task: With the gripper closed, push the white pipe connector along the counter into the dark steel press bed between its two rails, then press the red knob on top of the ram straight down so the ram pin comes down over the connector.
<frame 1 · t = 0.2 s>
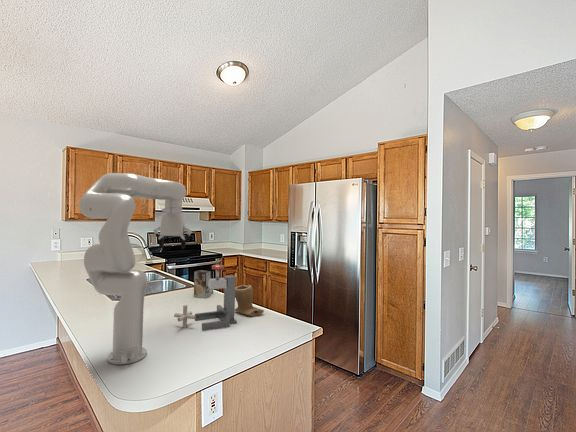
hand: (172, 248, 144), 36 cm above the counter, tool pointing down, fingers open, 9 cm apart
press: (208, 323, 147), on the counter
coffee box: (202, 296, 196), on the counter
pipe connector: (184, 327, 142), on the counter
brown boot vase: (246, 314, 164), on the counter
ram: (217, 279, 149), point 21 cm above the counter, slide at 0.0 cm
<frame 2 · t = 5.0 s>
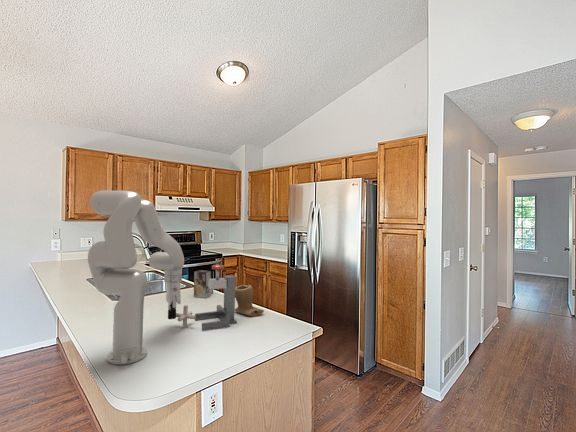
hand: (171, 318, 139), 5 cm above the counter, tool pointing down, fingers closed
pipe connector: (184, 327, 142), on the counter, touching gripper
everything else where it was.
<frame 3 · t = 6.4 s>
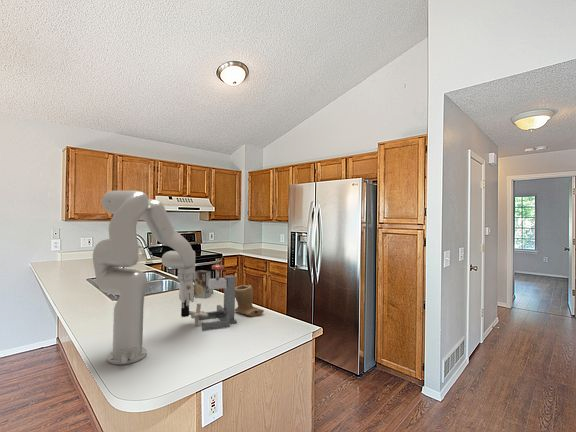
hand: (185, 316, 142), 5 cm above the counter, tool pointing down, fingers closed
pipe connector: (196, 325, 145), on the counter, touching gripper
everything else where it was.
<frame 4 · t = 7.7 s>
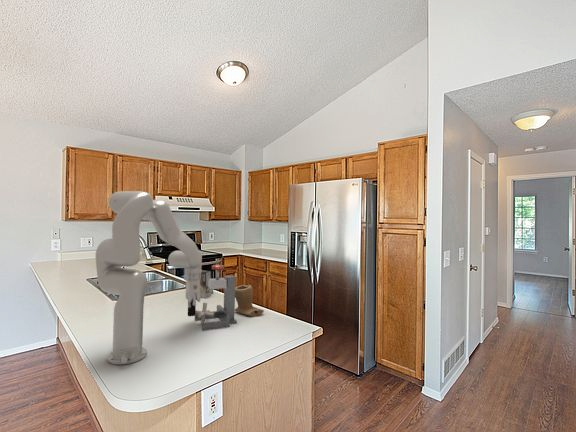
hand: (191, 315, 144), 5 cm above the counter, tool pointing down, fingers closed
pipe connector: (202, 324, 146), on the counter, touching gripper
everything else where it was.
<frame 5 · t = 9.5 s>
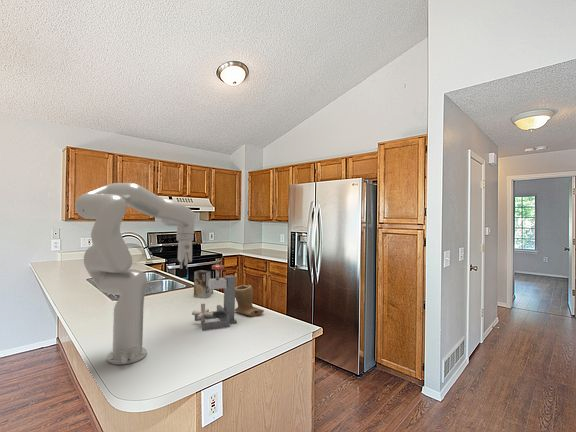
hand: (182, 277, 141), 23 cm above the counter, tool pointing down, fingers closed
pipe connector: (202, 324, 146), on the counter
everything else where it was.
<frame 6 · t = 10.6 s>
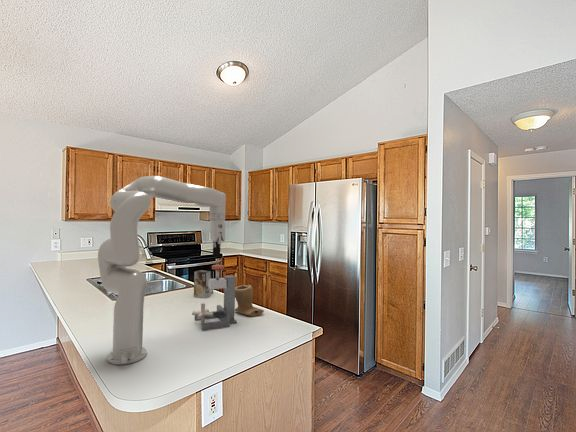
hand: (216, 255, 149), 33 cm above the counter, tool pointing down, fingers closed
nothing on the counter moved.
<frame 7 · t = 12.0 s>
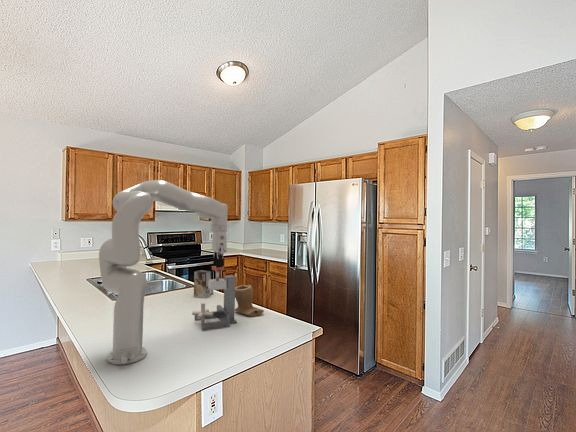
hand: (218, 265, 149), 27 cm above the counter, tool pointing down, fingers closed on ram, 4 cm apart
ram: (217, 279, 149), point 21 cm above the counter, slide at 0.3 cm, touching gripper
everything else where it was.
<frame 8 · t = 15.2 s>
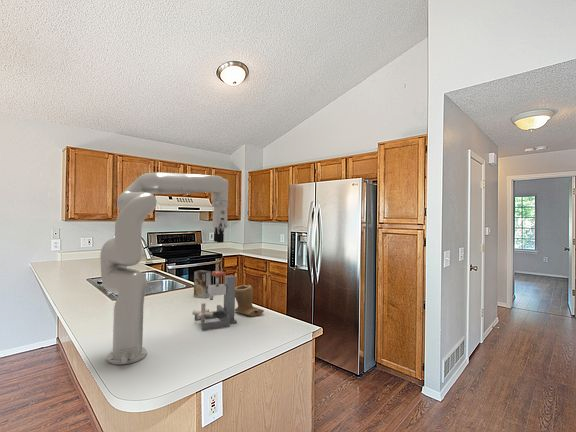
hand: (218, 241, 149), 39 cm above the counter, tool pointing down, fingers open, 4 cm apart
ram: (217, 285, 149), point 18 cm above the counter, slide at 3.1 cm
everything else where it was.
at the end: pipe connector inside the target area (1.5 cm from its centre), on the counter; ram slide at 3.1 cm; pipe connector tilted 1° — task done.
